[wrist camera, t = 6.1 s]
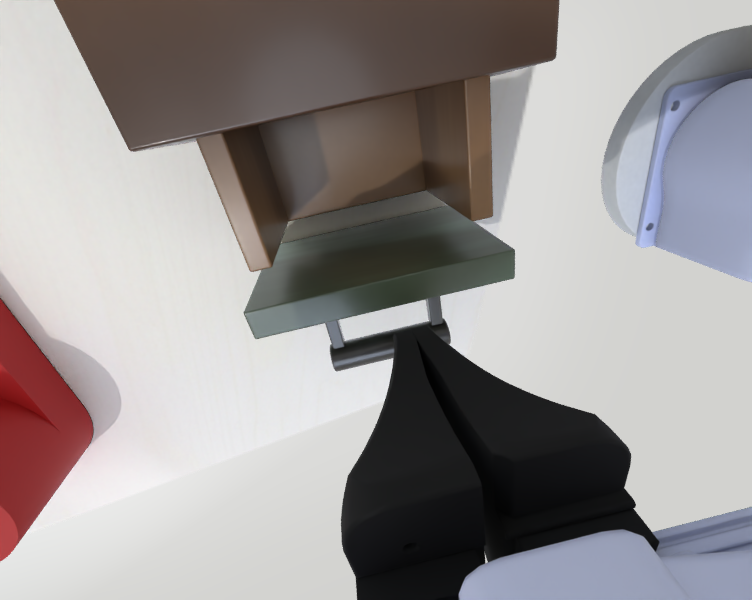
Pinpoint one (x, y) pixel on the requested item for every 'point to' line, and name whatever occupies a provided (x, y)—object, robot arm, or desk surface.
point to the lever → (33, 431)
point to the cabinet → (289, 56)
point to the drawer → (357, 187)
